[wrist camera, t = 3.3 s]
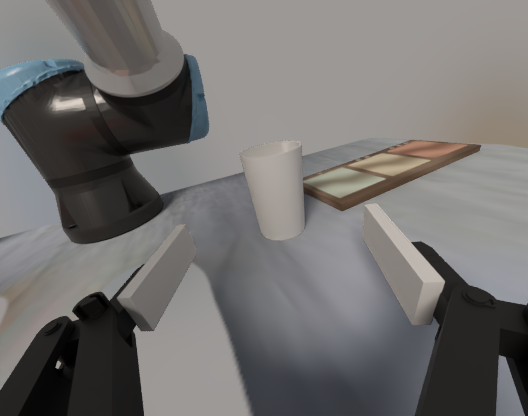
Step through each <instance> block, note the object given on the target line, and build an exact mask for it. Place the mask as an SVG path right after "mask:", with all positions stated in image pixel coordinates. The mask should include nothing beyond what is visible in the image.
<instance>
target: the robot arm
mask: <svg viewBox="0 0 528 416" xmlns="http://www.w3.org/2000/svg"><path fill="white" fill-rule="evenodd" d="M46 2H47V3H48V4H49V5H50V7H51V8H52V9H53V11H54V12H55V13H56V15H57V16H58V17H59V19H60V20H61V21H62V23H63V24H64V25H65V26H66V28H67V29H68V30H69V32H70V33H71V34H72V36H73V37H74V38H75V40H76V41H77V42H78V44H79V45H80V46H81V47H82V49H83V50H84V52H85V53H86V55H85V60H84V64H83V63H81V62H79V61H76V60H70V59H50V60H47V61H41V60H35V61H28V62H24V63H19V64H15V65H12V66H9V67H6V68H3V69H1V70H0V121H1V122H2V123H3V124H4V125H6V127H7V128H8V129H9V131H10V132H11V134H12V135H13V136H14V138H15V139H16V140H17V142H18V143H19V145H20V146H21V147H22V149H23V150H24V151H25V152H26V154H27V156H28V157H29V158H30V160H31V161H32V162H33V164H34V165H35V167H36V168H37V169H38V171H39V172H40V174H41V175H42V176H43V178H44V179H45V180H46V182H47V183H48V185H49V186H50V188H51V189H52V191H53V192H54V194H55V197H56V201H57V206H58V210H59V214H60V219H61V223H62V227H63V230H64V232H65V233H66V235H67V236H68V237H69V238H70V240H71V241H72V242H74V243H80V244H82V243H92V242H97V241H101V240H105V239H108V238H111V237H114V236H117V235H120V234H122V233H125V232H127V231H129V230H131V229H133V228H135V227H137V226H139V225H141V224H143V223H145V222H146V221H148V220H149V219H151V218H152V217H154V216H155V215H156V214H157V213H158V212H159V211H160V210H161V209H162V207H163V202H162V200H161V197H160V195H159V193H158V192H157V191H156V190H155V189H154V188H153V187H152V186H151V185H150V183H149V182H148V181H147V180H146V179H145V178H144V177H143V176H142V175H141V174H140V173H139V172H138V171H137V169H136V168H135V166H134V164H133V162H132V160H131V158H130V154H134V153H139V152H144V151H149V150H154V149H159V148H164V147H169V146H174V145H180V144H185V143H190V142H191V141H194V140H198V139H201V138H204V137H205V136H206V135H207V134H208V131H209V120H208V112H207V106H206V101H205V98H204V96H205V95H204V89H203V84H202V79H201V74H200V70H199V67H198V63H197V61H196V58H195V57H194V56H191V55H187V54H183V51H182V48H181V46H180V44H179V43H178V41H177V40H176V39H175V38H174V37H173V36H172V35H170V34H169V33H167V32H165V31H163V30H162V29H161V26H160V23H159V21H158V18H157V15H156V13H155V10H154V8H153V5H152V2H151V0H46ZM363 239H364V241H365V243H366V245H367V246H368V248H369V250H370V252H371V253H372V255H373V257H374V259H375V260H376V262H377V264H378V266H379V267H380V269H381V271H382V273H383V275H384V276H385V278H386V280H387V282H388V283H389V285H390V287H391V289H392V290H393V292H394V294H395V296H396V298H397V299H398V301H399V303H400V305H401V306H402V308H403V310H404V312H405V313H406V315H407V317H408V319H409V321H410V322H411V324H412V325H431V323H432V320H433V317H434V318H435V319H436V321H437V322H438V323H439V325H440V326H439V329H438V332H437V334H436V337H435V343H434V347H433V351H432V355H431V358H430V362H429V366H428V369H427V373H426V377H425V380H424V384H423V388H422V391H421V395H420V399H419V402H418V406H417V410H416V413H415V416H496V398H497V378H498V358H499V355H501V356H504V357H506V360H507V363H508V366H509V369H510V372H511V375H512V378H513V381H514V384H515V387H516V390H517V393H518V396H519V399H520V402H521V405H522V408H523V411H524V414H525V416H528V304H527V305H522V304H516V303H511V302H505V301H500V300H496V299H495V297H494V296H492V295H491V294H489V293H488V292H486V291H484V290H482V289H480V288H477V287H473V286H469V285H468V284H467V283H466V282H465V281H464V280H463V279H462V278H461V277H460V276H459V275H458V274H457V273H456V272H455V271H454V270H453V269H452V268H451V267H450V266H449V265H448V264H447V263H446V262H445V261H444V260H443V259H442V257H441V256H439V254H438V253H437V252H436V251H435V250H434V249H433V248H432V247H430V246H428V245H426V244H425V243H423V242H410V241H409V240H408V239H407V238H406V236H405V235H404V234H403V233H402V232H401V231H400V230H399V228H398V227H397V226H396V225H395V224H394V223H393V222H392V220H391V219H390V218H389V217H388V216H387V215H386V214H385V212H384V211H383V210H382V209H381V208H380V207H379V206H378V205H377V203H376V204H367V205H364V221H363ZM197 252H198V251H197V249H196V247H195V244H194V242H193V239H192V237H191V235H190V232H189V230H188V227H187V225H186V224H184V225H177V226H176V227H175V228H174V230H173V231H172V232H171V233H170V235H169V236H168V237H167V238H166V239H165V241H164V242H163V243H162V244H161V245H160V247H159V248H158V249H157V250H156V251H155V253H154V254H153V255H152V256H151V257H150V259H149V260H148V261H147V262H146V263H145V264H143V265H142V266H141V267H140V268H138V269H137V270H136V271H135V272H134V273H133V274H132V275H131V276H130V278H129V279H128V280H127V281H126V283H124V285H123V286H122V287H121V288H120V289H119V291H118V292H117V293H116V294H115V295H114V297H113V298H112V299H111V300H110V301H109V300H108V299H107V298H106V296H105V295H104V294H103V293H102V292H95V293H93V294H90V295H88V296H87V297H85V298H83V299H82V300H81V301H80V302H78V303H77V304H76V306H75V307H74V308H73V310H72V312H73V313H74V314H75V315H76V316H77V317H78V318H79V320H75V321H72V320H71V319H70V318H69V317H68V316H62V317H59V318H57V319H55V320H52V321H51V322H50V323H48V324H46V325H45V326H44V327H43V328H42V329H41V330H40V331H39V332H38V334H37V335H36V336H35V338H34V339H33V341H32V342H31V344H30V346H29V347H28V349H27V350H26V352H25V353H24V355H23V356H22V358H21V359H20V361H19V362H18V364H17V366H16V367H15V369H14V370H13V372H12V373H11V375H10V376H9V378H8V379H7V381H6V382H5V384H4V386H3V387H2V389H1V390H0V416H144V411H143V401H142V392H141V383H140V374H139V365H138V356H137V347H136V338H135V334H134V332H133V329H134V328H135V326H136V325H137V326H138V328H139V329H140V330H141V331H154V329H155V327H156V326H157V324H158V322H159V320H160V318H161V317H162V315H163V313H164V311H165V309H166V308H167V306H168V304H169V302H170V300H171V299H172V297H173V295H174V293H175V291H176V290H177V288H178V286H179V284H180V282H181V281H182V279H183V277H184V275H185V273H186V272H187V270H188V268H189V266H190V264H191V263H192V261H193V259H194V257H195V255H196V254H197ZM57 361H60V362H61V365H60V367H59V369H56V368H55V367H56V363H57Z"/></svg>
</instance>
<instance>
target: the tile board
mask: <svg viewBox="0 0 528 416" xmlns="http://www.w3.org/2000/svg"><path fill="white" fill-rule="evenodd" d="M480 147H481V145H475V144H461V143H448V142H434V141H421V140H410V141H407V142H404V143H402V144H399V145H396V146H393V147H389V148H387V149H384V150H382V151H379V152H376V153H373V154H370V155H367V156H364V157H362V158H359V159H355V160H353V161H350V162H347V163H344V164H342V165H339V166H336V167H333V168H330V169H327V170H324V171H321V172H318V173H316V174H313V175H310V176H307V177H304V178H303V192H305V193H307V194H309V195H311V196H313V197H315V198H317V199H319V200H321V201H323V202H325V203H327V204H329V205H331V206H333V207H335V208H337V209H339V210H341V211H343V210H346V209H348V208H350V207H352V206H355V205H357V204H359V203H362V202H364V201H366V200H368V199H371V198H373V197H375V196H377V195H380V194H382V193H384V192H387V191H389V190H391V189H393V188H396V187H398V186H400V185H402V184H405V183H407V182H409V181H412V180H414V179H416V178H418V177H421V176H423V175H425V174H427V173H430V172H432V171H434V170H437V169H439V168H441V167H443V166H446V165H448V164H450V163H452V162H455V161H457V160H459V159H462V158H464V157H466V156H468V155H471V154H473V153H475V152H477V151H479V150H480Z"/></svg>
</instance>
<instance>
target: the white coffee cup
mask: <svg viewBox="0 0 528 416" xmlns="http://www.w3.org/2000/svg"><path fill="white" fill-rule="evenodd" d="M240 158H241V162H242V165H243V169H244V173H245V176H246V180H247V183H248V187H249V191H250V194H251V198H252V202H253V205H254V209H255V213H256V216H257V220H258V223H259V227H260V231H261V234H262V235H263V236H264V237H265V238H267V239H271V240H274V241H280V240H288V239H292V238H294V237H296V236H298V235H299V234H301V233H302V231H303V230H304V229H305V215H304V192H303V168H302V145H301V143H300V142H298V141H278V142H272V143H266V144H261V145H257V146H254V147H251V148H248V149H246V150H244V151H242V152H241V153H240Z"/></svg>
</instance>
